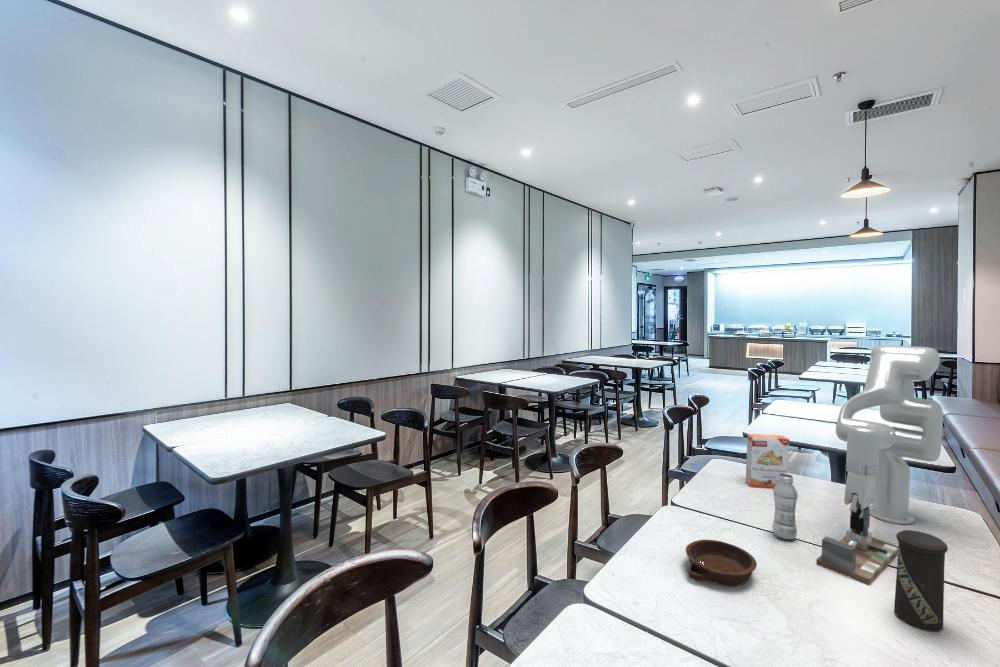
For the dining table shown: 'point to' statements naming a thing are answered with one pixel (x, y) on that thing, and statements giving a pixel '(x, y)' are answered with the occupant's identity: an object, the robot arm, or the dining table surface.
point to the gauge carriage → (862, 536)
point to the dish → (719, 562)
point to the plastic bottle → (785, 508)
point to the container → (920, 580)
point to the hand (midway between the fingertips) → (859, 527)
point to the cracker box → (766, 459)
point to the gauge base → (856, 558)
